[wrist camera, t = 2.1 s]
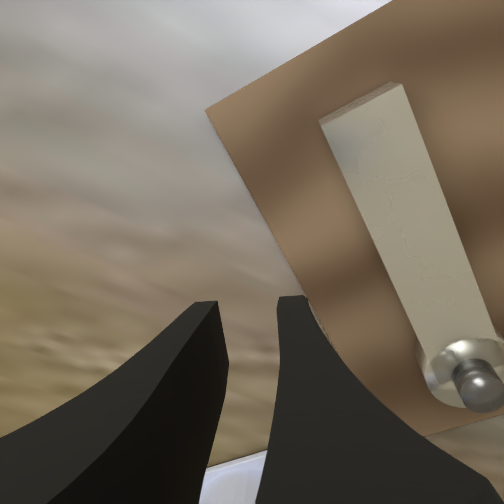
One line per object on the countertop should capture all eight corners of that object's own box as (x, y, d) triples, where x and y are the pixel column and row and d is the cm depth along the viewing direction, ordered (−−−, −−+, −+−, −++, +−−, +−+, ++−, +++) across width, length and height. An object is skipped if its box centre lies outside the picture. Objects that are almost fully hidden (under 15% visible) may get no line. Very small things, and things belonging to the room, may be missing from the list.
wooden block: (510, 363, 21) (547, 416, 17) (430, 388, 22) (452, 441, 19) (402, 74, 16) (428, 77, 13) (306, 125, 17) (309, 139, 14)
